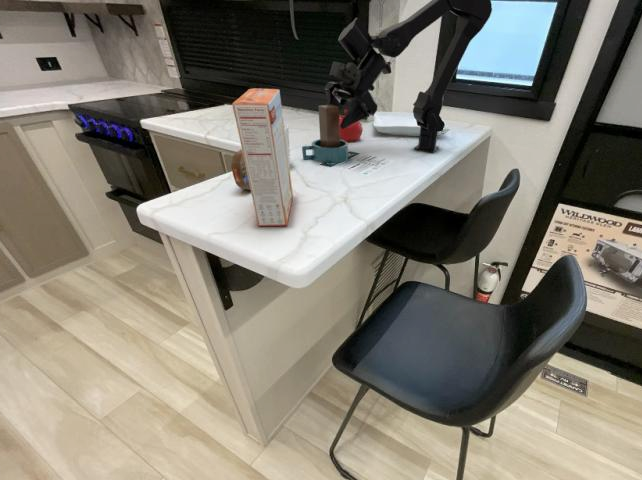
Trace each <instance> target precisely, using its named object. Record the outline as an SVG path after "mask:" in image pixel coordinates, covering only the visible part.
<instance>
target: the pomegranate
mask: <svg viewBox="0 0 642 480" xmlns="http://www.w3.org/2000/svg"><path fill="white" fill-rule="evenodd" d="M348 110H349V109H344V111H343V112H344V115H341V114H339V131H340V140H344V141H346V142H347V143H354V142H356V141H359V140H360V139H361V137H362V135H363V130H364V128H363V126H362V122H361V121H360V120H359V121H357V122H355V123H353V124H352V125H350V126H348V127H346V128H344V129H342V128H341V127H340V125H341V123H342V121H343V119H344V117H345V115H346V114H347V112H348Z"/></svg>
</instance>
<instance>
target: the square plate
mask: <svg viewBox="0 0 642 480" xmlns="http://www.w3.org/2000/svg"><path fill="white" fill-rule="evenodd" d="M441 119H442V120H443V122H444V123H445V126H444V128H443V130H442V131H439V132H438V136H443V135H445V134H447V133H448V132H449V131H450V130H451V128H450V127H449V126H448V124H447V123H446V122H445V121H444V119H443V118H442V117H441ZM372 124H373V125H372V126H373V127H374V128H375V130H376V131H377V132H379V133H383V134H385V135H390V136H409V137H410V136H412V137H419V135H420V128H421V127H420V126H418V125H417V121H416V119H415V118H414V115H413V112H410V111H409V112H408V111H376V113H375V114H374V115H373V123H372Z"/></svg>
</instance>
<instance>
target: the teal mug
mask: <svg viewBox="0 0 642 480" xmlns="http://www.w3.org/2000/svg"><path fill="white" fill-rule="evenodd" d="M301 151H302V152H301V153H302V159H303V160H314V161H315V162H318V163H321V164H341V163H344V162H346V161H348V160H349V142H346V141H344V140H340V147H336V148H325V147H321V145H320V138H318V139H316V140H313V141H312V142H311V145H303V146H301ZM307 151H311V154H307Z"/></svg>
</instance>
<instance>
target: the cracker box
mask: <svg viewBox="0 0 642 480" xmlns="http://www.w3.org/2000/svg"><path fill="white" fill-rule="evenodd" d="M231 104H232V110H233V114H234V117H235V123H236V128H237V133H238V137H239V141H240V146H241V149H242V152H243V156H244V161H245V166H246V170H247V175H248V180H249V185H250V189H251V190H250V193H251V198H252V203H253V209H254V212H255V217H256V222H257V226H258V227H281V226H283V227H285V226H288V223H289V219H290V214H291V209H292V205H293V199H294V193H293V185H292V184H293V183H292V177H291V176H292V175H291V168H290V166H289V160H288V153H287V145H286V137H285V129H284V125H285V121H284V115H283V107H282V105H283V104H282V98H281V91H280V89H279V88H277V89H276V88H260V87H258V88H255V87H254V88H249V89H247V91H245V92H244V93H243V94H241V96H240V97H238V98H237V99H235V101H233V102H232V103H231Z"/></svg>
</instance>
